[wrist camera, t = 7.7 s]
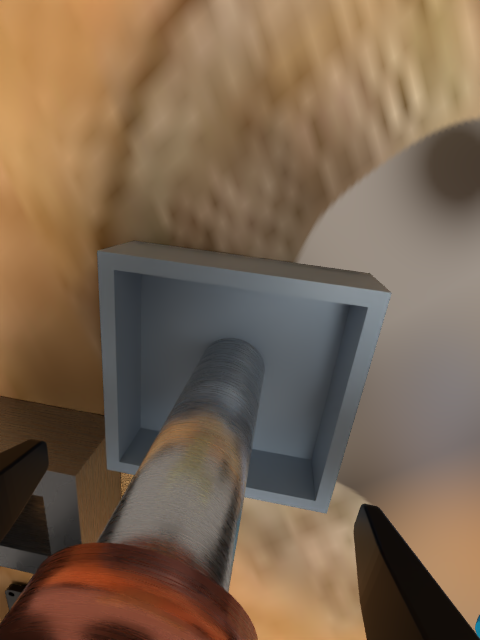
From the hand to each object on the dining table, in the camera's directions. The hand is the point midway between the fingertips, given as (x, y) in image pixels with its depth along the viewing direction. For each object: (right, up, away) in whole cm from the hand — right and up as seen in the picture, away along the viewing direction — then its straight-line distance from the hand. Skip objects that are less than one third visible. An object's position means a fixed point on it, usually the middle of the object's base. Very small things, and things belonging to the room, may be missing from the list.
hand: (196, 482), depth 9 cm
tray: (+1, +3, +7) cm, 7 cm away
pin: (+1, +2, +6) cm, 7 cm away
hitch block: (-10, -4, +11) cm, 15 cm away
